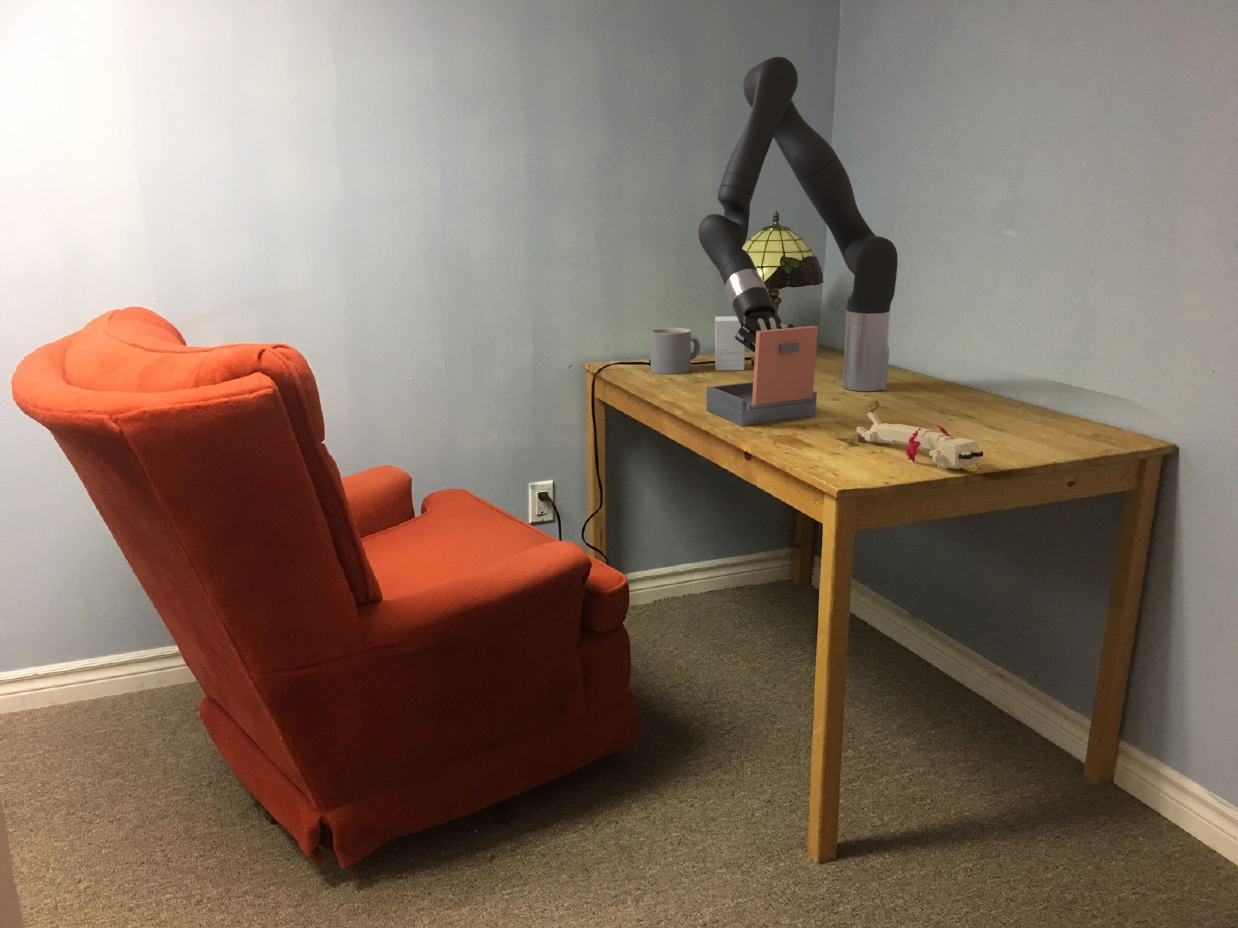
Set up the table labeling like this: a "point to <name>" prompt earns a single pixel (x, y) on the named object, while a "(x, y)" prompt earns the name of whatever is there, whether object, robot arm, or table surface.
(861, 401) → the table surface
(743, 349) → the supplement box
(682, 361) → the coffee mug
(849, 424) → the table surface
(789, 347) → the flat pink square board
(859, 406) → the table surface
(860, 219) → the robot arm
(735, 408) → the grey open box
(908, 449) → the cream blocky figure
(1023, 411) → the table surface
